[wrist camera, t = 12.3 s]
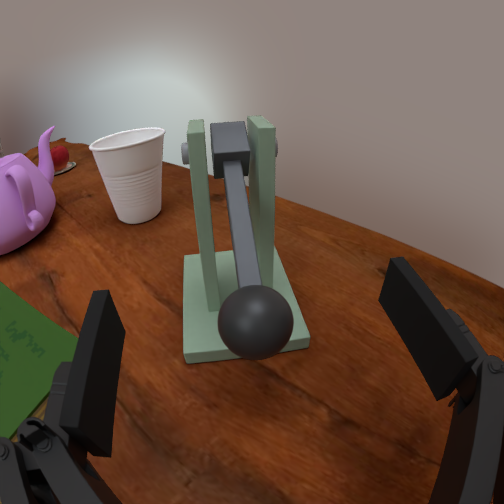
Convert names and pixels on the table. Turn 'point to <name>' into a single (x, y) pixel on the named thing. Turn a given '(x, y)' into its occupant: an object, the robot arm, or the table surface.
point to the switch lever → (246, 259)
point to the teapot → (25, 196)
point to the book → (27, 360)
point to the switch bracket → (222, 263)
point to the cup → (132, 171)
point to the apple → (61, 159)
